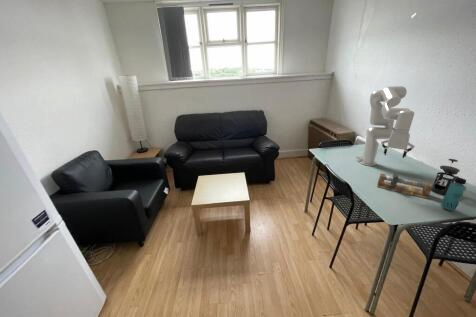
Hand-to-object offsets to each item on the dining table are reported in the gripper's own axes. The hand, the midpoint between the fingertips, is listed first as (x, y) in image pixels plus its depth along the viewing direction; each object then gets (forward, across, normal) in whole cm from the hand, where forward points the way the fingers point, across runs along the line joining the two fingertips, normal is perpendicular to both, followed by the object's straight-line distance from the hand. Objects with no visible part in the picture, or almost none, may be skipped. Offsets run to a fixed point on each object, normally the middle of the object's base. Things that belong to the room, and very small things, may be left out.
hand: (393, 155), depth 134 cm
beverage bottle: (+23, +30, -12) cm, 40 cm away
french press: (+23, +30, +10) cm, 39 cm away
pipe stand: (+23, +9, 0) cm, 24 cm away
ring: (+21, +4, 0) cm, 21 cm away
